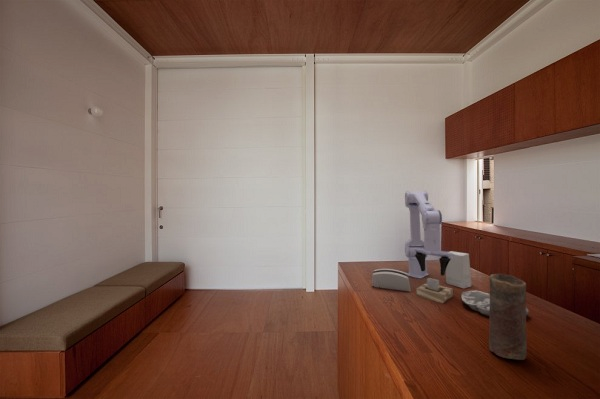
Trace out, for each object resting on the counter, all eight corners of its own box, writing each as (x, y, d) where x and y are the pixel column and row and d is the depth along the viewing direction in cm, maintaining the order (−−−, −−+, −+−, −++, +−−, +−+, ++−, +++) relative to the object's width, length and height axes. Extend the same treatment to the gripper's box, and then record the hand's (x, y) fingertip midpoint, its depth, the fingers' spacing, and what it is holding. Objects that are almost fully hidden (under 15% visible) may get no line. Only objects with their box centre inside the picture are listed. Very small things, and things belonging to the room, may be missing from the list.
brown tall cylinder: (518, 348, 65) (517, 274, 65) (534, 367, 58) (532, 283, 58) (484, 343, 68) (483, 272, 67) (496, 360, 61) (494, 281, 60)
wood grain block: (437, 297, 97) (437, 281, 97) (427, 294, 101) (426, 278, 100) (441, 294, 100) (441, 278, 100) (431, 291, 103) (431, 276, 103)
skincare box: (471, 286, 109) (470, 253, 109) (463, 289, 106) (462, 255, 106) (452, 281, 116) (452, 250, 116) (444, 283, 114) (444, 251, 114)
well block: (427, 289, 107) (427, 282, 107) (452, 296, 100) (452, 288, 100) (416, 295, 101) (416, 288, 101) (442, 303, 93) (442, 295, 93)
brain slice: (447, 303, 94) (447, 295, 94) (477, 295, 100) (477, 288, 100) (505, 328, 75) (505, 319, 75) (538, 317, 81) (538, 308, 81)
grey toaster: (411, 287, 110) (410, 268, 107) (411, 294, 106) (410, 275, 103) (373, 282, 117) (371, 265, 114) (371, 289, 113) (369, 271, 110)
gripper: (409, 239, 103) (410, 271, 103) (447, 243, 91) (448, 279, 91) (417, 236, 107) (418, 267, 107) (454, 241, 96) (455, 275, 96)
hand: (432, 272), depth 100 cm, fingers open, 7 cm apart
